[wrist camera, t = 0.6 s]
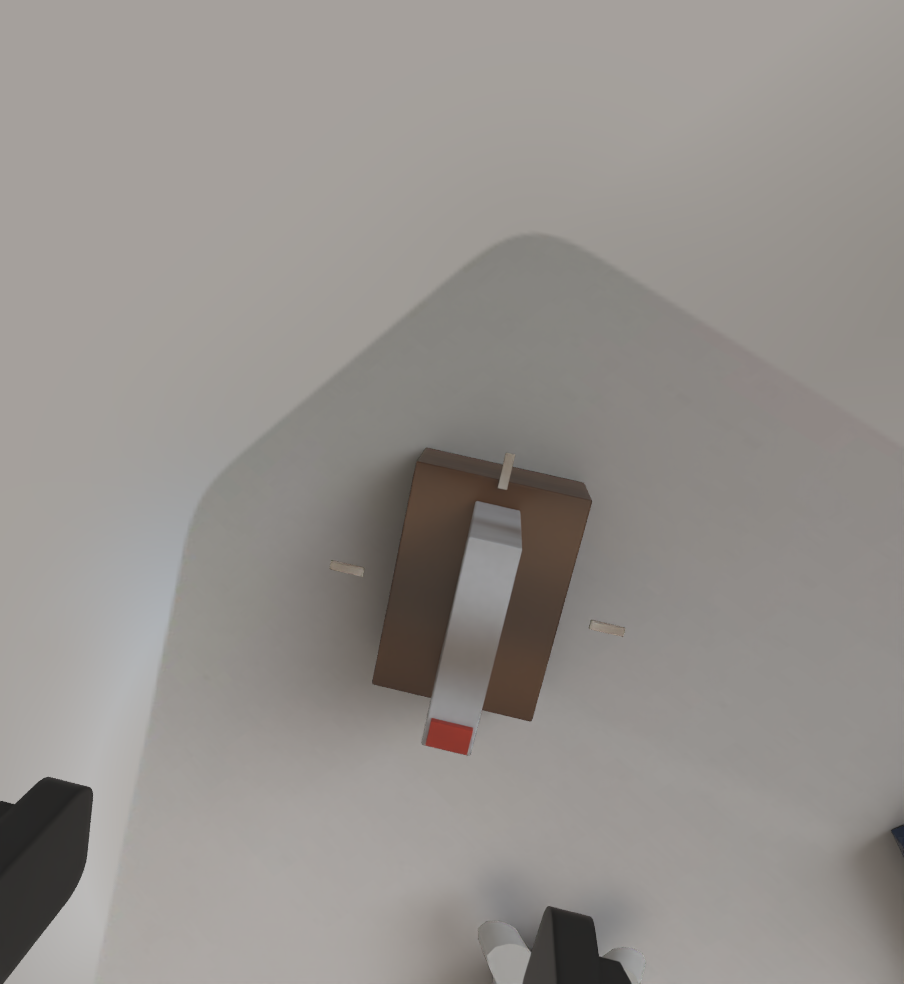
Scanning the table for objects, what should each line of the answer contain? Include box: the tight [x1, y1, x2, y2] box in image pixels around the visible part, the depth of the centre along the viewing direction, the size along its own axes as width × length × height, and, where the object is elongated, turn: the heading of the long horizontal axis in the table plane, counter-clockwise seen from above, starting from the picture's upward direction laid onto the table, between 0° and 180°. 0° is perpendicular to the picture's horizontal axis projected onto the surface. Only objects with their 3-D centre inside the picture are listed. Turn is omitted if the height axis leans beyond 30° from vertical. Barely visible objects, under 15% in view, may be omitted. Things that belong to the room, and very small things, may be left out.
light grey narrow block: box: [421, 501, 522, 756], centre depth 25 cm, size 8×2×5 cm, turn 168°
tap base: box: [330, 448, 625, 721], centre depth 29 cm, size 12×12×3 cm
